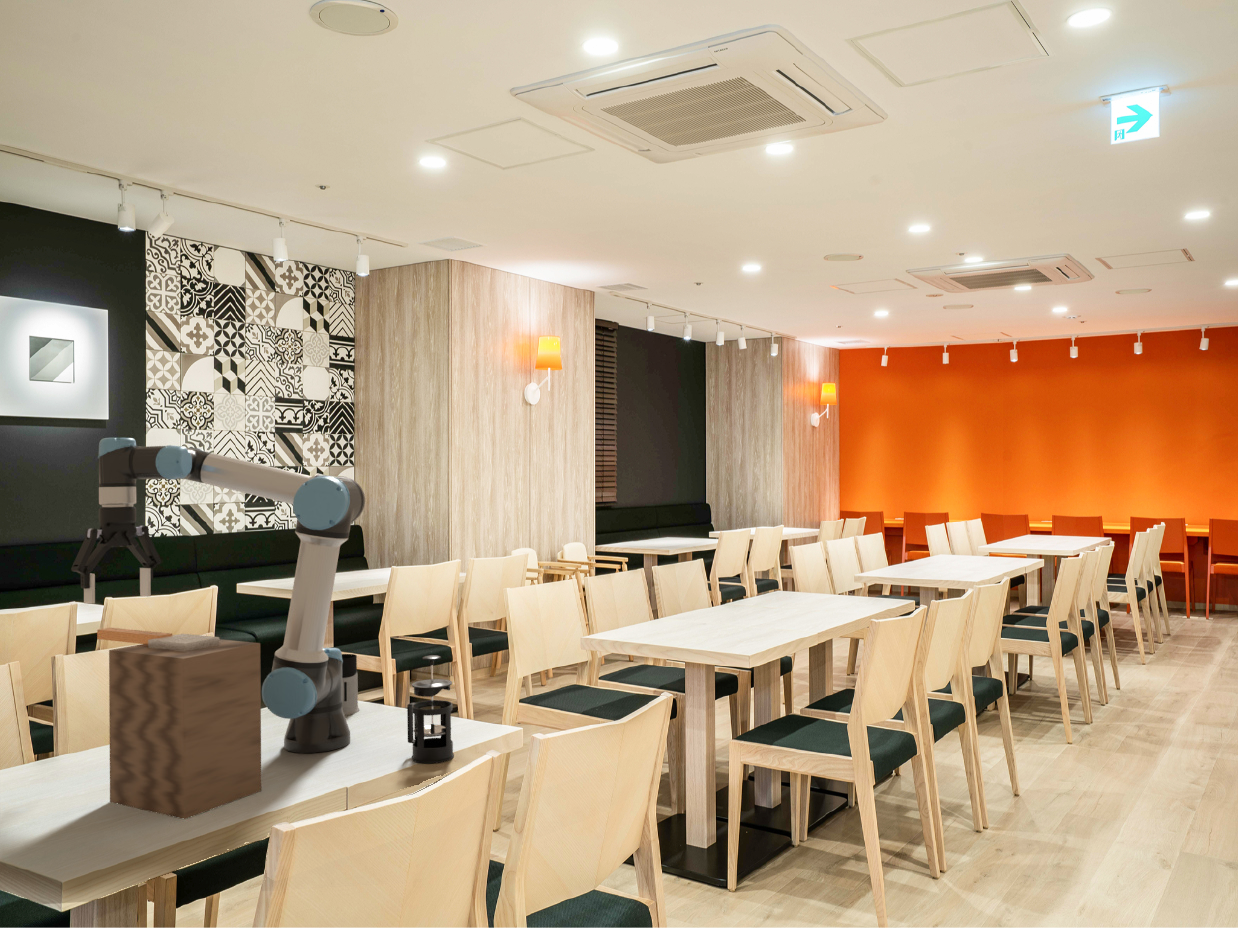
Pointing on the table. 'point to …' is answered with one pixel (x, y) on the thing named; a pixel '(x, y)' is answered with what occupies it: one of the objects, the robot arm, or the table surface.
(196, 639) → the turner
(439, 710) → the french press
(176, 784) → the walnut stand
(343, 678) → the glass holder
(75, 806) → the table surface
